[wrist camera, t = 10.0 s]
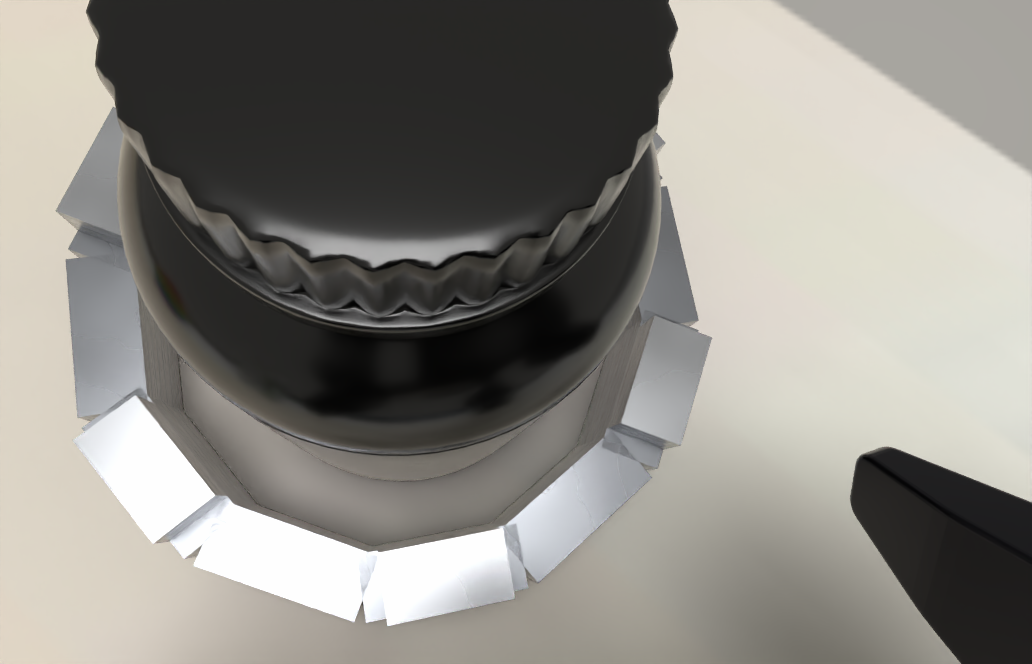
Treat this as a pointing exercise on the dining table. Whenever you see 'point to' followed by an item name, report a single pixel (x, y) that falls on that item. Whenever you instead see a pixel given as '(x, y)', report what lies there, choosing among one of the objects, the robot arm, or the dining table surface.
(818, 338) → the dining table surface
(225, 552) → the grey segmented ring
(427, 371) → the supplement bottle
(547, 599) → the dining table surface
